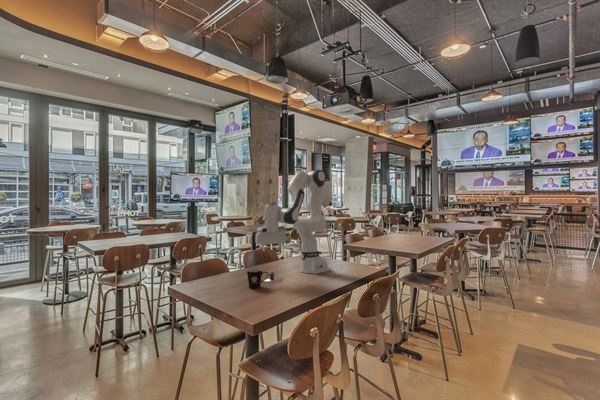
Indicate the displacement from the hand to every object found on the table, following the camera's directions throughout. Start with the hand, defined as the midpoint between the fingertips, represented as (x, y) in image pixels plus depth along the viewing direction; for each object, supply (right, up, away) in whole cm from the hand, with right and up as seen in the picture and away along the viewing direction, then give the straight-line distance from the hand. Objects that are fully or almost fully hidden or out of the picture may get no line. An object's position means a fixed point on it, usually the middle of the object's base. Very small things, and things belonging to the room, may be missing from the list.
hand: (271, 250), depth 189 cm
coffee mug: (-7, -19, -15) cm, 25 cm away
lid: (+1, -19, 0) cm, 19 cm away
